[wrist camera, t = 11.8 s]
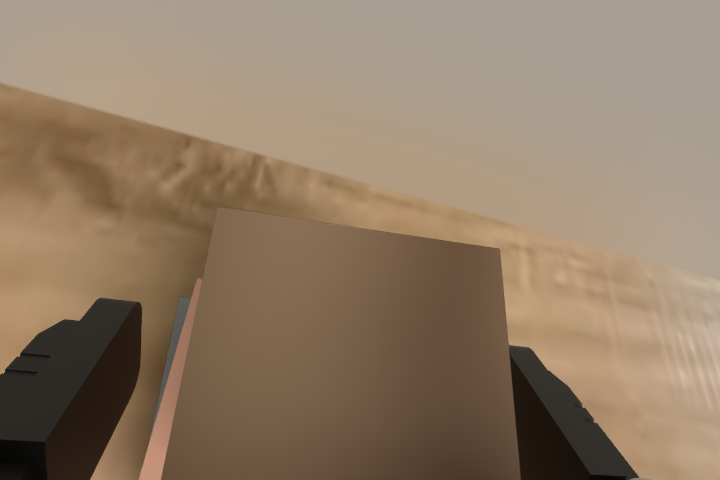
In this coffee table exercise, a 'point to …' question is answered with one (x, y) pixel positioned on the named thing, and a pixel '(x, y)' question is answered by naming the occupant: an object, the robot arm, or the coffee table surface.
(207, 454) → the pillar
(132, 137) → the coffee table surface
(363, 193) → the coffee table surface
